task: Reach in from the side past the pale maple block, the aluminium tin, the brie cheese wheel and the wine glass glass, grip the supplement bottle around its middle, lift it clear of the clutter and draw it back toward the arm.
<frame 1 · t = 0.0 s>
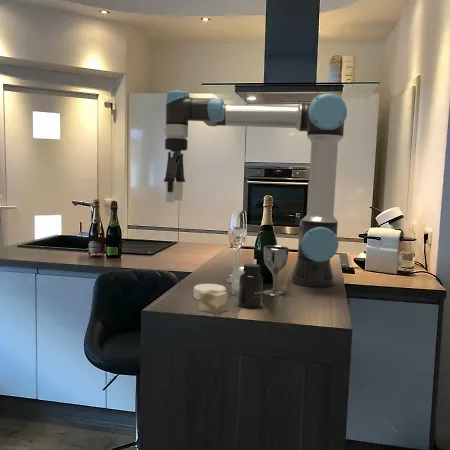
hand: (174, 201, 167), 28 cm above the countertop, tool pointing down, fingers open, 13 cm apart
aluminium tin: (242, 293, 157), on the countertop
supplement bottle: (249, 306, 143), on the countertop
maple block: (212, 310, 137), on the countertop
wine glass: (273, 293, 160), on the countertop
brie cheese wheel: (209, 298, 151), on the countertop
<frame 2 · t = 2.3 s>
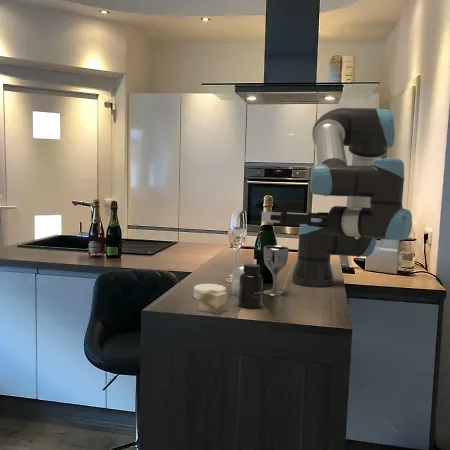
hand: (275, 216, 138), 26 cm above the countertop, tool horizontal, fingers open, 13 cm apart
nothing on the countertop moved.
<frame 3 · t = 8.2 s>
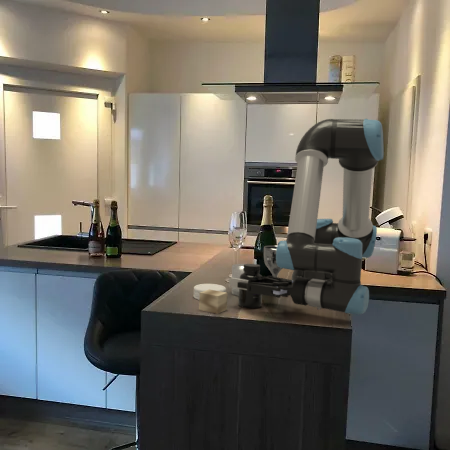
hand: (235, 280, 145), 7 cm above the countertop, tool horizontal, fingers closed on supplement bottle, 7 cm apart
supplement bottle: (249, 306, 143), on the countertop, touching gripper
everything else where it was.
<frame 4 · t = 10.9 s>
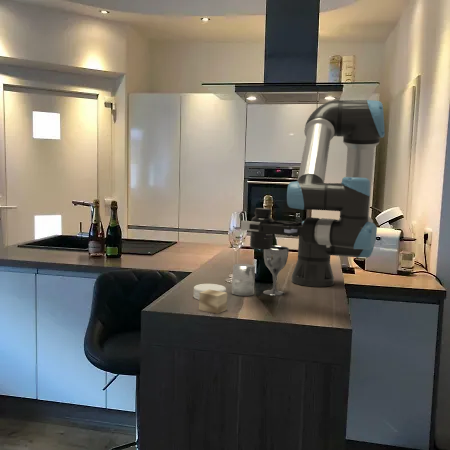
hand: (247, 224, 151), 23 cm above the countertop, tool horizontal, fingers closed on supplement bottle, 7 cm apart
supplement bottle: (261, 248, 149), point 16 cm above the countertop, touching gripper
everything else where it was.
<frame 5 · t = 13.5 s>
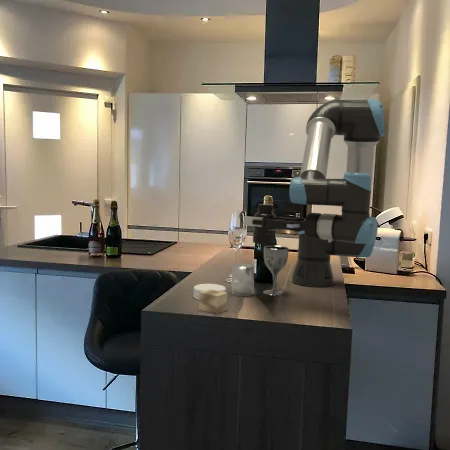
hand: (250, 220, 153), 24 cm above the countertop, tool horizontal, fingers closed on supplement bottle, 7 cm apart
supplement bottle: (263, 244, 151), point 17 cm above the countertop, touching gripper
everything else where it was.
at the end: the gripper is holding supplement bottle; supplement bottle point 17.0 cm above the countertop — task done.
